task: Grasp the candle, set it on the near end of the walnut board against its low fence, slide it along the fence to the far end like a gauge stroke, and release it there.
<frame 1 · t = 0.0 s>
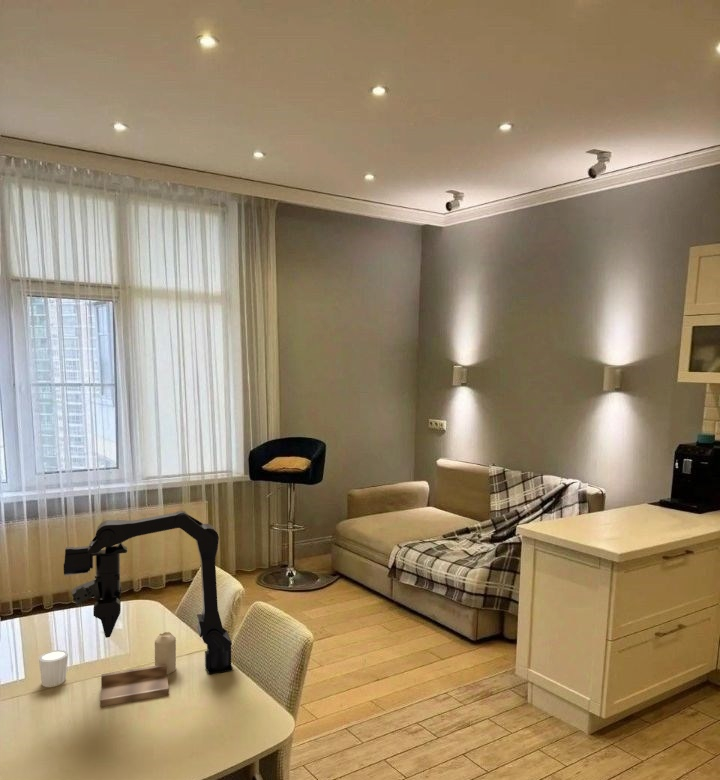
hand: (108, 630, 158), 15 cm above the table, fingers open, 9 cm apart
candle: (165, 670, 167), on the table
white cylinder: (53, 682, 161), on the table
board: (134, 691, 155), on the table
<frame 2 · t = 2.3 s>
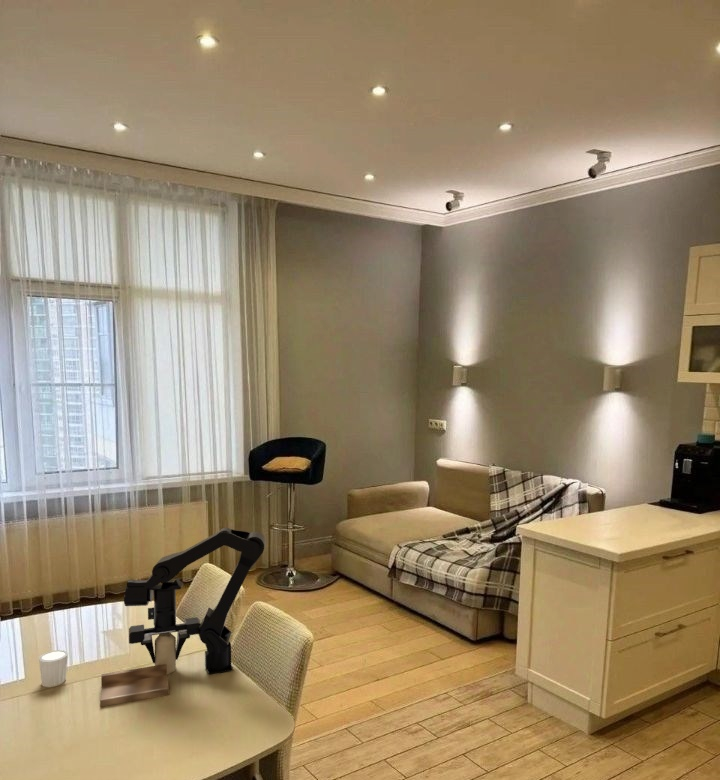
hand: (165, 660, 167), 3 cm above the table, fingers closed on candle, 5 cm apart
candle: (165, 670, 167), on the table, touching gripper
everything else where it was.
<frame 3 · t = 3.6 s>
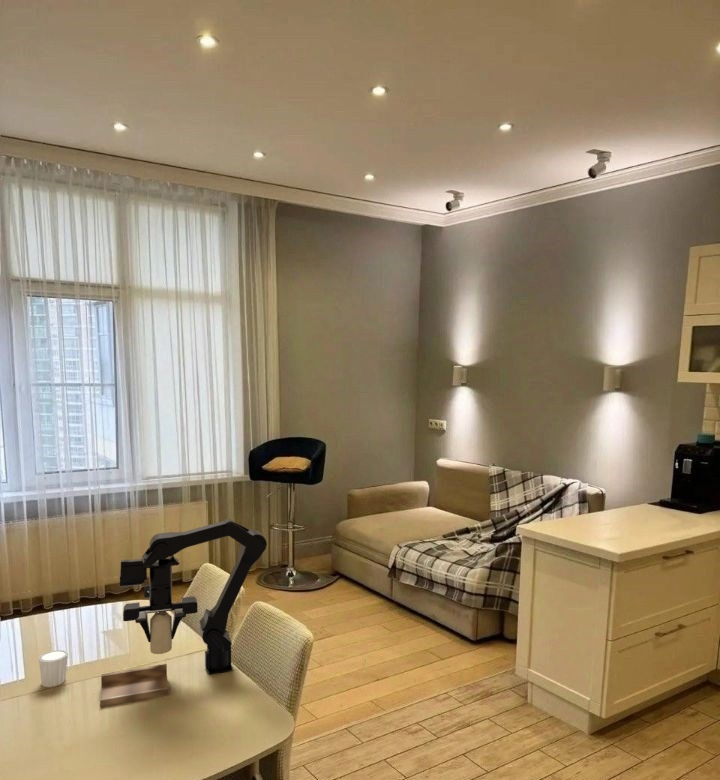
hand: (161, 640, 163), 10 cm above the table, fingers closed on candle, 5 cm apart
candle: (161, 650, 163), point 7 cm above the table, touching gripper
everything else where it was.
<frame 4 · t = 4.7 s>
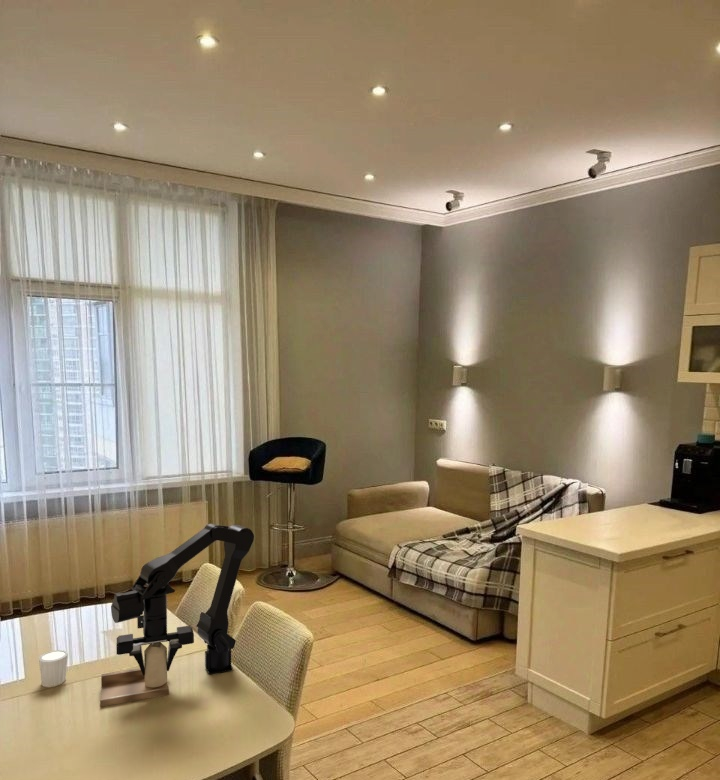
hand: (155, 672, 157), 4 cm above the table, fingers closed on candle, 5 cm apart
candle: (155, 683, 157), point 1 cm above the table, touching gripper
everything else where it was.
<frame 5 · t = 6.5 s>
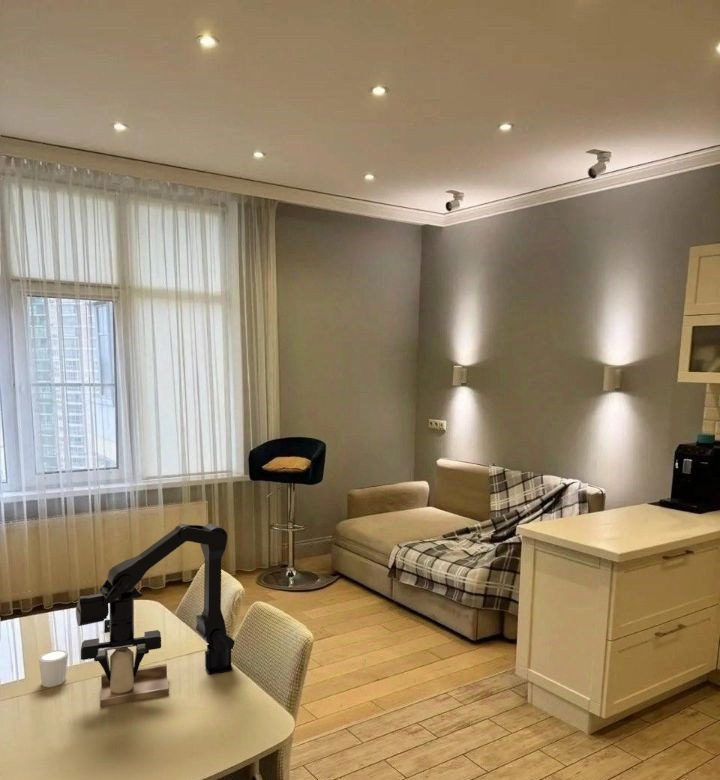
hand: (122, 677, 154), 4 cm above the table, fingers closed on candle, 5 cm apart
candle: (122, 689, 154), point 2 cm above the table, touching gripper
everything else where it was.
when the fingers open (4 cm above the table, at t = 7.5 s): candle stays where it is, resting on board.
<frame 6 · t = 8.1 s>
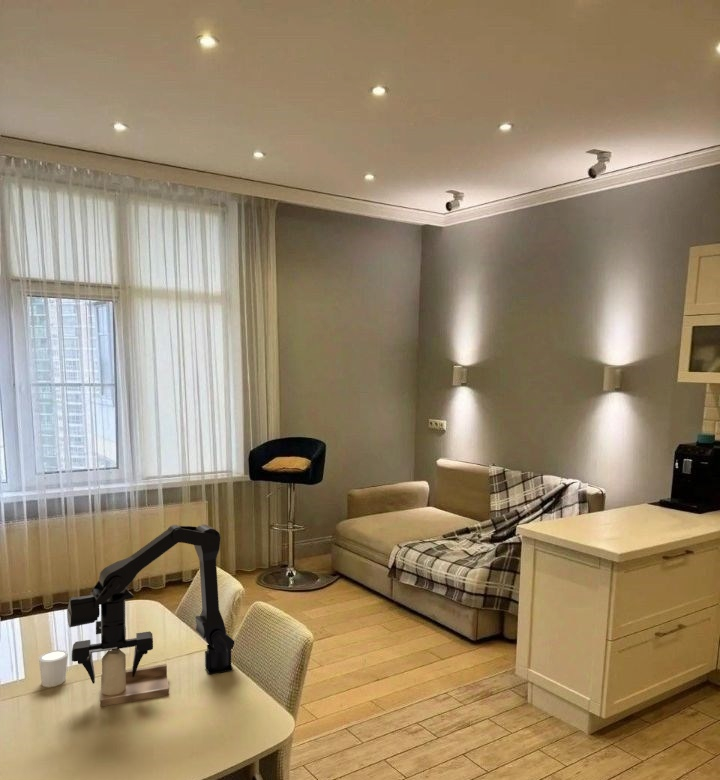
hand: (113, 679, 153), 4 cm above the table, fingers open, 9 cm apart
candle: (114, 691, 153), point 1 cm above the table, touching board
everything else where it was.
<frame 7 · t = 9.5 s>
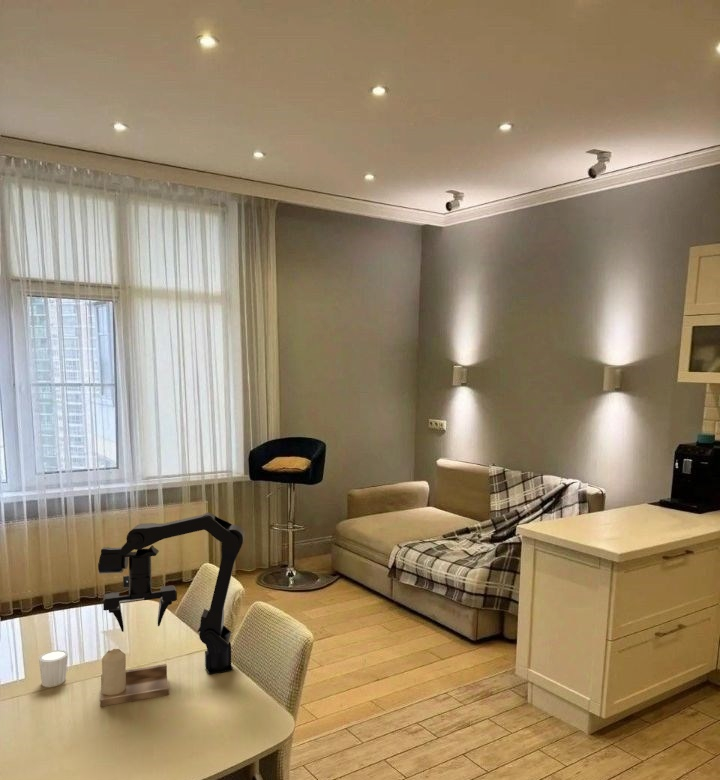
hand: (140, 628, 166), 12 cm above the table, fingers open, 9 cm apart
nothing on the table moved.
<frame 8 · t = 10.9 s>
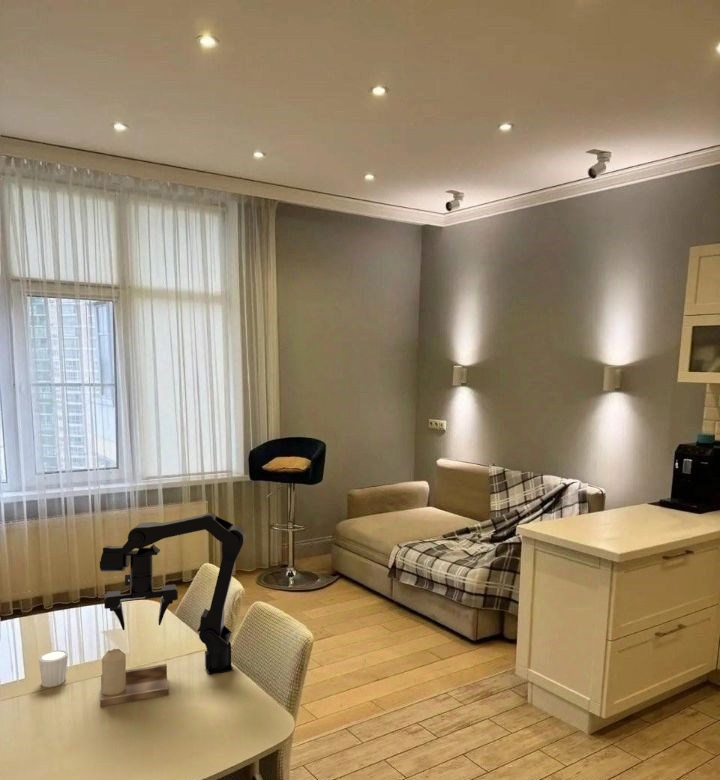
hand: (141, 627, 167), 12 cm above the table, fingers open, 9 cm apart
nothing on the table moved.
at the end: candle inside the target area (0.4 cm from its centre), point 1.3 cm above the table; candle tilted 0°; the gripper is holding nothing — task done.
